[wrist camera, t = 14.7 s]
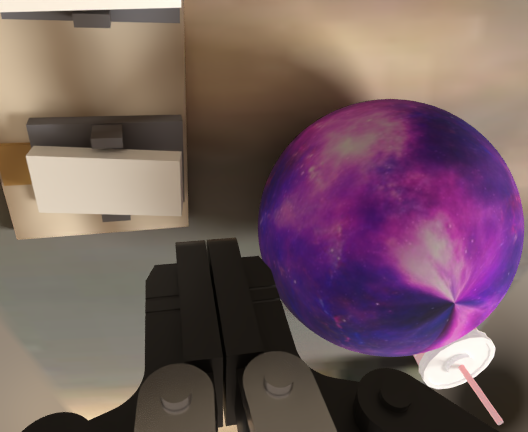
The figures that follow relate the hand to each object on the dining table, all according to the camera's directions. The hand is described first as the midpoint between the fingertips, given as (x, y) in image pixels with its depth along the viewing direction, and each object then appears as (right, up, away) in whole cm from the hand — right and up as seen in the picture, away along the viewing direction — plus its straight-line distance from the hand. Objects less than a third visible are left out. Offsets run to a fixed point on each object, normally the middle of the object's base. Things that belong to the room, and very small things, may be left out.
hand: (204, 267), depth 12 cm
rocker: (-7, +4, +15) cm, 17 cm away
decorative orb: (+7, +5, +23) cm, 24 cm away
